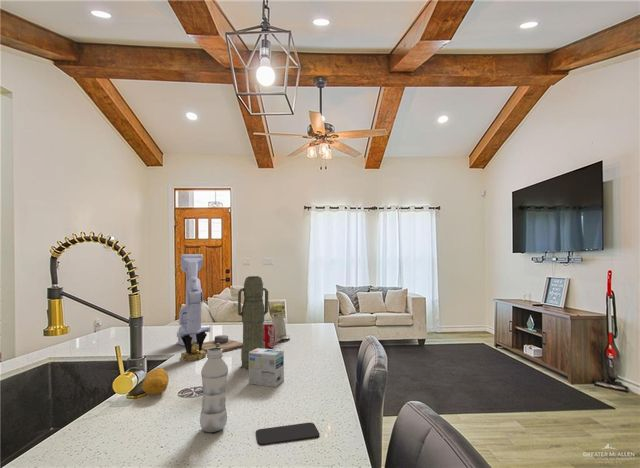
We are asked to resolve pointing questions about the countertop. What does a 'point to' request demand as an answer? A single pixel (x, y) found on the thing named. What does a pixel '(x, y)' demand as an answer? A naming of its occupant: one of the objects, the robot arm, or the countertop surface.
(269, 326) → the soda can
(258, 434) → the phone
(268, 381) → the light bulb box
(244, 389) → the countertop surface
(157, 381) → the potato
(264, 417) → the countertop surface
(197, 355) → the brass gear
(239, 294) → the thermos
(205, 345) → the carrier plate
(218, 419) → the plastic bottle
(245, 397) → the countertop surface
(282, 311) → the white paper bag
